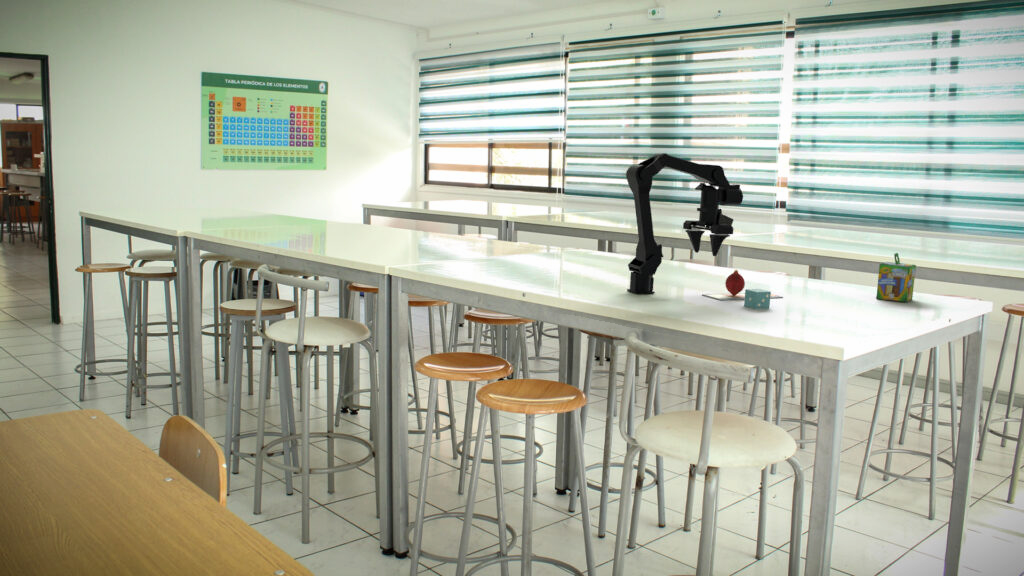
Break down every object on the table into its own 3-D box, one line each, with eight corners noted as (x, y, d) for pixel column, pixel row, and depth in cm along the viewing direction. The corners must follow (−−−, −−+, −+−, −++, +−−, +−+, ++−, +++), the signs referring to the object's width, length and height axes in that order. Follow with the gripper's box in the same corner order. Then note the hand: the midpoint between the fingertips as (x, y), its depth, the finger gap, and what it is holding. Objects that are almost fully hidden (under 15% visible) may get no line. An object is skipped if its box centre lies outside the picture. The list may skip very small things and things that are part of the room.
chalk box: (906, 303, 247) (911, 256, 245) (875, 299, 253) (880, 253, 250) (913, 299, 254) (918, 254, 252) (882, 296, 260) (888, 251, 257)
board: (720, 300, 238) (720, 299, 238) (702, 295, 246) (702, 294, 246) (782, 297, 247) (782, 296, 247) (763, 293, 256) (763, 291, 256)
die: (755, 309, 226) (756, 292, 225) (743, 306, 231) (745, 289, 230) (769, 308, 228) (771, 291, 227) (757, 305, 232) (759, 288, 232)
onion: (744, 297, 242) (746, 271, 241) (725, 296, 244) (727, 270, 242) (742, 294, 248) (745, 269, 247) (723, 293, 249) (726, 268, 248)
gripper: (749, 207, 244) (745, 257, 247) (712, 203, 261) (708, 250, 264) (720, 207, 240) (715, 258, 242) (683, 203, 257) (680, 250, 259)
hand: (705, 254), depth 252 cm, fingers open, 9 cm apart
